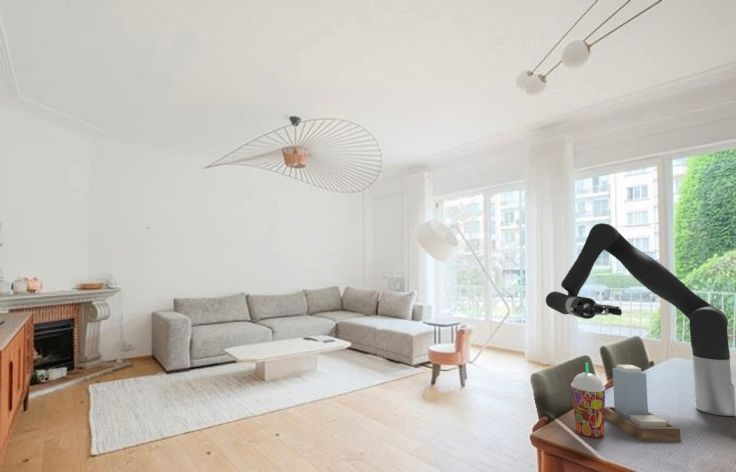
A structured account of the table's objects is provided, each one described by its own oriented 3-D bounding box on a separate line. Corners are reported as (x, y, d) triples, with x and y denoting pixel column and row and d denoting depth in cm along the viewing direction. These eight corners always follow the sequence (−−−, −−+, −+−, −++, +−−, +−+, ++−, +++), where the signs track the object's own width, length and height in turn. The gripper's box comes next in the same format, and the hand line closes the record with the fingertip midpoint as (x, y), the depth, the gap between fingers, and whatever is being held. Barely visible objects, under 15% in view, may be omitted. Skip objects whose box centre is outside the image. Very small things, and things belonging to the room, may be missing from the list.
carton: (614, 418, 118) (612, 363, 119) (635, 418, 118) (632, 364, 119) (627, 426, 112) (624, 369, 114) (648, 427, 112) (645, 369, 113)
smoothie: (566, 431, 112) (563, 359, 113) (594, 430, 113) (591, 359, 114) (585, 444, 104) (582, 367, 105) (615, 443, 104) (611, 366, 106)
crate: (603, 420, 120) (603, 406, 120) (640, 420, 120) (639, 406, 120) (638, 443, 104) (638, 428, 104) (681, 444, 104) (680, 428, 104)
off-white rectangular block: (630, 429, 110) (629, 415, 111) (655, 429, 110) (654, 415, 110) (641, 436, 106) (640, 421, 106) (667, 436, 106) (666, 421, 106)
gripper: (560, 296, 144) (584, 300, 128) (600, 296, 144) (628, 300, 128) (561, 317, 143) (585, 323, 127) (601, 317, 143) (629, 323, 127)
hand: (606, 312), depth 127 cm, fingers open, 8 cm apart
